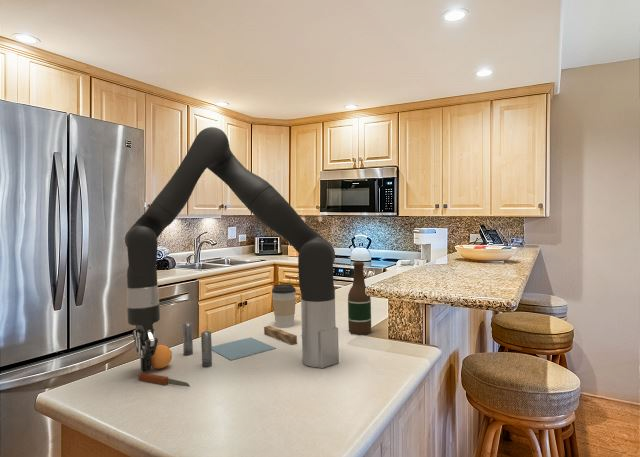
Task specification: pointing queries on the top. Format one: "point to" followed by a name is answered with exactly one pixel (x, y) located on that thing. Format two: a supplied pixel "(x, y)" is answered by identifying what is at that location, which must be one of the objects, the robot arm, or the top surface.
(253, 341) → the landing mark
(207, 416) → the top surface
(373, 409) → the top surface
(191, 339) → the left post
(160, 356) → the ball
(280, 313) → the coffee cup
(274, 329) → the wall
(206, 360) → the right post
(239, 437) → the top surface
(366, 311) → the beer bottle
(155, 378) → the kitchen knife
